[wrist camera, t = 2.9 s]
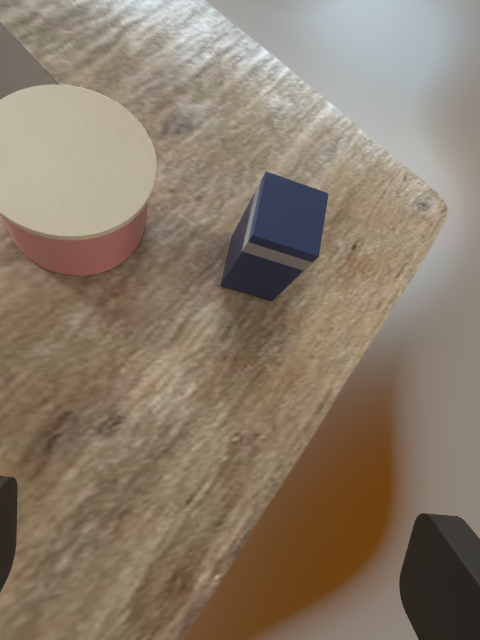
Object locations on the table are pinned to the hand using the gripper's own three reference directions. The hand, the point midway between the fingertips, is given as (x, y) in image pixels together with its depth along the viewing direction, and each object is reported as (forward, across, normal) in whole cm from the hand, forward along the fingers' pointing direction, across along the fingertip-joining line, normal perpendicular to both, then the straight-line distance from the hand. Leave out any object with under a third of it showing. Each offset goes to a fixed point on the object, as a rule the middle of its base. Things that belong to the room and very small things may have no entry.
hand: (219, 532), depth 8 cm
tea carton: (+32, -3, -2) cm, 32 cm away
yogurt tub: (+31, +12, -4) cm, 34 cm away
